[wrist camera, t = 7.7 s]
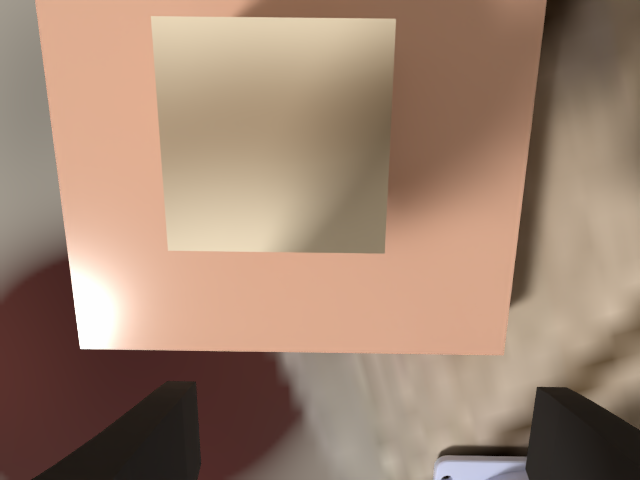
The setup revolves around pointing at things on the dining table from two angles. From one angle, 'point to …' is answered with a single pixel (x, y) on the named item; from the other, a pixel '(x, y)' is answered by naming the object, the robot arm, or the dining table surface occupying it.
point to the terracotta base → (290, 267)
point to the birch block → (274, 132)
